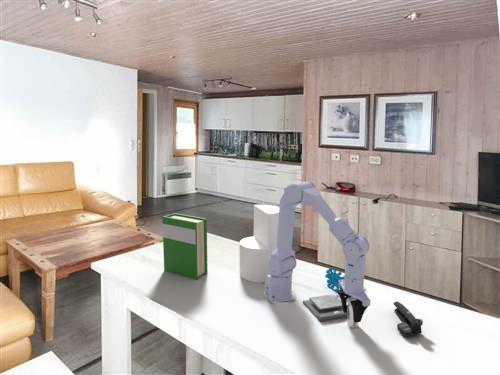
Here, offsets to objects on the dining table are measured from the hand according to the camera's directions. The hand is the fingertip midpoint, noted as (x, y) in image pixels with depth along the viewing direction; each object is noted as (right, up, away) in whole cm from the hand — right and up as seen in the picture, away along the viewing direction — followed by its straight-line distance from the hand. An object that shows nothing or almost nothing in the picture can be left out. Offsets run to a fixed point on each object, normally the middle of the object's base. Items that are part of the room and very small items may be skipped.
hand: (351, 316), depth 112 cm
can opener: (+17, -3, +2) cm, 18 cm away
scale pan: (-5, +1, +11) cm, 12 cm away
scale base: (-5, -1, +10) cm, 12 cm away
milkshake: (0, -3, +1) cm, 3 cm away
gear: (+1, +1, +26) cm, 26 cm away
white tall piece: (-28, +4, +40) cm, 48 cm away
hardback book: (-59, +4, +40) cm, 72 cm away
